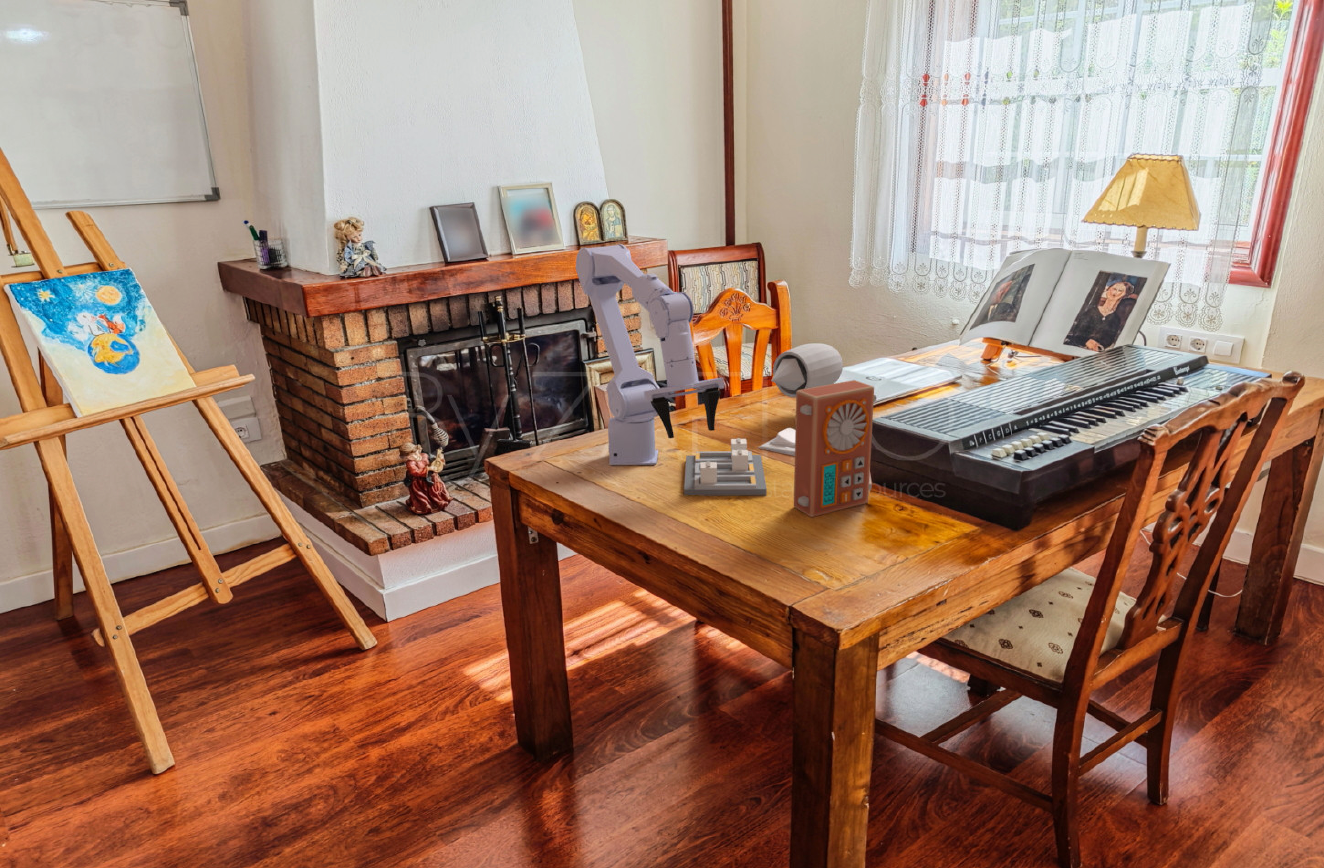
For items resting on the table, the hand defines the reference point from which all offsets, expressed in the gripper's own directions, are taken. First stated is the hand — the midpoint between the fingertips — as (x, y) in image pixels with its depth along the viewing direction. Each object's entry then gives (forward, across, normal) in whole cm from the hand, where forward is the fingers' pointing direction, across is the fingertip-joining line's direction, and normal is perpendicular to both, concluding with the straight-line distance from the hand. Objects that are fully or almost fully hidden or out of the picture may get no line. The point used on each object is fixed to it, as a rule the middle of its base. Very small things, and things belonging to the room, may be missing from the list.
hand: (691, 434), depth 160 cm
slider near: (+10, +2, +1) cm, 10 cm away
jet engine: (+6, +33, +36) cm, 49 cm away
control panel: (+16, +21, -11) cm, 28 cm away
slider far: (+8, +11, +11) cm, 18 cm away
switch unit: (+10, +6, +6) cm, 13 cm away
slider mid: (+9, +9, +5) cm, 14 cm away
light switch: (+10, +26, +20) cm, 34 cm away
